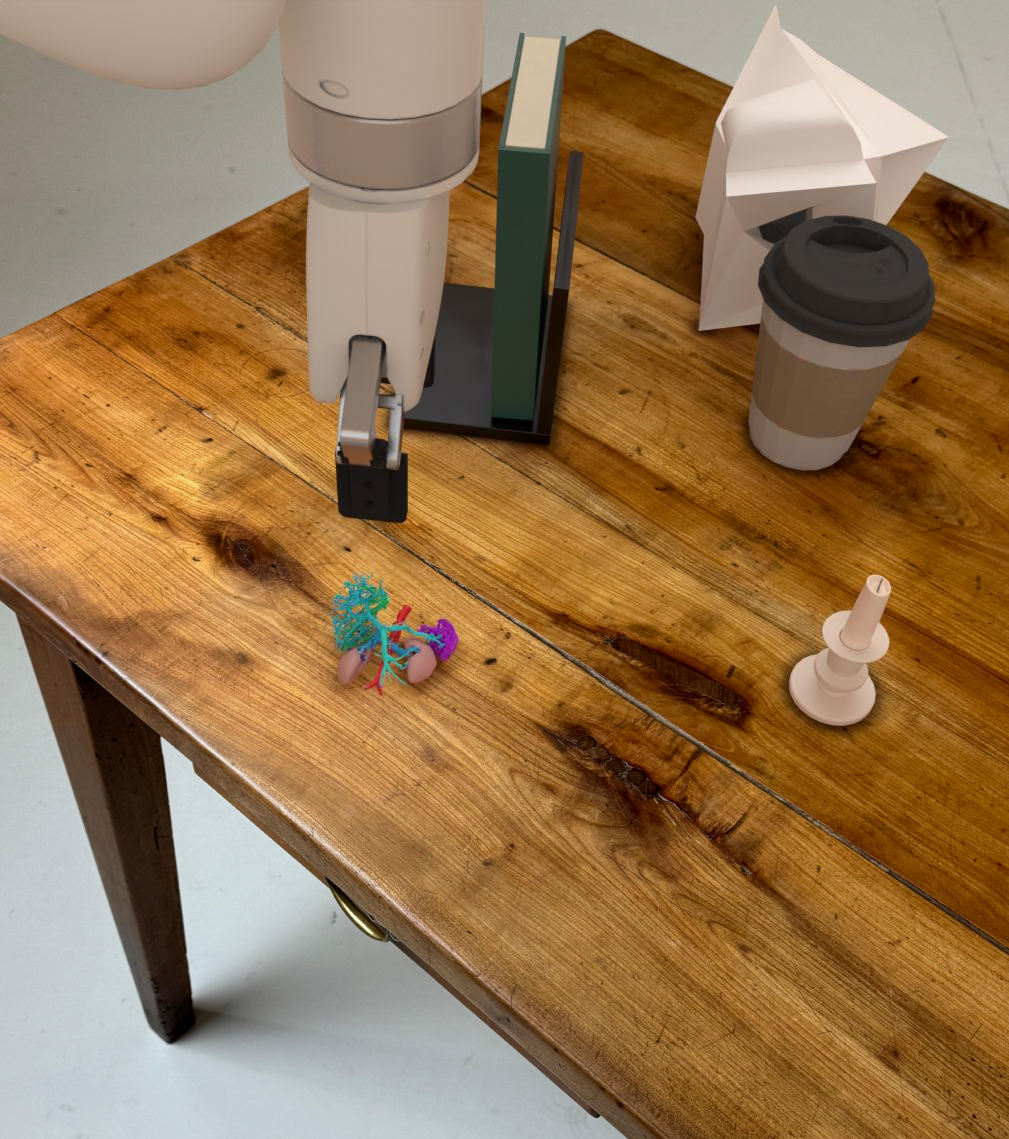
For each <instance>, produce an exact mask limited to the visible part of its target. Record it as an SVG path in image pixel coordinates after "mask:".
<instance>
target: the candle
mask: <svg viewBox="0 0 1009 1139" xmlns="http://www.w3.org/2000/svg"><path fill="white" fill-rule="evenodd" d="M891 593H892V586H891V583H890V582H889V580H888V579H887V578H885V577H884V576H883V575H881V574H872V575H871V574H870V575H869V576H868V577H867V579H866V581H865V583H864V585H863V587H862V589H861V591H860V592H859V594H858V597H857V599H856V601H855V602H854V604H853V607H852V609H851V610H841V611H840V610H839V611H837V612H834V613H833V614H831V615H830V616H828V617H827V618H826V619H825V621H824V622H823V625H822V630H821V635H822V639H823V641H824V643H825V645H826V646H827V647H826V648H824V649H822V650H821V651H820V652H818V653H817V654H811V655H809V656H806V657H804V658H802V659H801V660H800V661H798V662H797V663H796V664H795V665H794V666H793V668H792V671H791V673H790V675H789V678H788V679H789V680H788V688H789V690H788V691H789V695H790V696H791V699H792V700H793V702H794V704H795V705H796V706H797V708H799V710H800V711H801V712H802V713H804V714H805V715H807V716H808V717H809V718H811V719H813V720H815V721H817V722H819V723H822V724H826V725H830V726H841V727H843V726H844V727H845V726H850V725H854V724H857V723H858V722H861V721H863V720H864V719H865V718H866V717H867V716H868V715H869V714H870V712H871V710H872V709H873V706H874V704H875V702H876V695H877V693H876V688H875V685H874V682H873V680H872V678H871V677H870V675H869V667H868V664H869V663H870V664H871V663H874V662H876V661H879V660H880V659H882V658H883V657H884V656H885V655H886V654H887V652H888V651H889V650H888V649H889V646H890V637H889V634H888V632H887V630H886V628H885V627H884V626H883V625H882V623H880V621H881V618H882V616H883V615H884V611H885V609H886V606H887V603H888V601H889V598H890V595H891Z"/></svg>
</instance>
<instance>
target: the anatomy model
mask: <svg viewBox="0 0 1009 1139" xmlns="http://www.w3.org/2000/svg"><path fill="white" fill-rule="evenodd" d="M365 575H366V572H364V573H363V574H362V573H360V575H358V577H357V572H354V573H353V574H351V577H352V579H353V580H354V581H355V583H353V580H351V581H346V580H344V581H343V583H344V585H343V586H342V588H343V590H346V589H347V588H348V595H347V594H345V596H344V595H343V593H342V592H341V590H338V593H336V594H334V596H333V597H332V599H330V602H332V604H333V605H332V606H331V607H330V608H331V609H332V611H331V612H330V617H331V619H330V621H332V622H331V623H330V624H331V625H333V626H334V627H333V628H330V631H334V633H333V634H332V635H331V637H332V638H335V636H336V638H335V639H336V640H335V643H334V646H335V648H337V647H338V645H339V648H338V650H337V653H338V652H340V654H343V653H345V654H344V655H342V656H341V658H340V659H339V662H338V664H337V668H336V675H337V678H338V681H339V683H341V684H343V685H349V684H352V683H353V682H354V681H355V680H356V679H357V678H358V676H360V675H361V674H362V673H363V671H364V670H365V669H366V668H367V667H368V666H369V663H370V662H371V660H372V657H373V656H374V655H375V656H378V657H380V658H381V659H382V660H381V662H380V664H379V667H378V669H377V672H376V675H375V676H374V679H373V680H372V681H371V682H370V683H369V684H367V685H366V686H364V687H363V689H364V690H366V691H368V690H369V691H370V689H371V688H373V687H374V686H375V687H376V690H377V693H378V695H379V696H381V697H383V696H384V693H383V689H384V685H385V678H386V677H385V676H386V673H388V674H387V675H388V680H389V682H390V683H392V682H393V681H392V680H391V677H390V674H392V676H394V678H396V679H397V680H398V681H399V682H400V683H401V684H402V685H404V686H407V683H405V682H404V681H403V680H401V679H400V678H399V676H398V675H396V673H395V672H394V671H393V670H392V669H391V663H393V664H394V665H395V666H396V667H398V668H399V669H400V670H404V669H406V676H407V677H406V678H407V680H408V681H409V682H410V683H411V684H418V683H421V682H423V681H424V680H427V679H428V678H430V677H431V675H432V674H433V672H434V670H435V669H436V668H437V665H438V661H437V658H438V659H439V660H440V661H442V662H446V661H447V660H448V659H450V657H451V656H452V655H453V654H454V653H455V652H456V650H457V646H458V643H459V635H458V634H457V632H456V628H455V627H454V624H453V623H452V622H450V620H448V619H447V618H439V619H436V622H437V624H436V625H434V626H432V625H430V626H428V625H427V624H421V625H420V627H419V628H416V631H415V630H414V629H412V628H411V627H410V626H409V625H408V624H405V623H406V619H407V617H408V615H409V614H410V613H411V612H412V610H413V608H412V607H411V606H410V605H408V604H404V605H403V606H402V608H401V609H400V610H399V611H398V612H397V615H396V619H395V621H394V622H393V623H392V625H391V626H389V625H388V624H387V623H384V624H382V622H380V621H379V617H377V616H378V613H379V611H381V610H383V611H384V610H387V609H388V605H389V603H390V600H392V599H393V596H390V597H389V596H388V595H389V593H388V592H386V591H387V589H386V590H385V589H384V588H383V587H382V583H383V582H384V579H381V580H380V583H379V584H378V587H377V585H374V586H373V584H369V583H368V580H371V578H373V577H374V572H371V575H369V576H367V577H365ZM362 595H363V596H362ZM334 600H335V602H333V601H334ZM341 600H342V601H341ZM330 602H328V604H330ZM335 605H337V608H335ZM363 605H364V606H363ZM374 605H376V606H375V607H373V606H374ZM359 606H361V607H362V608H361V609H359V610H358V611H357V612H354V611H353V609H354V608H357V607H359ZM371 607H372V608H371ZM340 610H341V611H344V610H345V612H344V613H343V614H341V613H340V614H337V615H336V616H335V617H334V615H333V613H334V612H335V611H337V612H339V611H340ZM339 617H343V618H340V619H339ZM354 620H355V621H354ZM353 621H354V622H353ZM368 622H370V623H371V624H368ZM366 624H367V626H366ZM375 630H376V632H374V631H375ZM402 631H403V632H404V631H407V632H408V633H409V634H411V635H409V636H408V637H407V638H406V639H405V641H404V645H403V647H404V648H403V647H399V645H401V642H399V640H400V638H401V636H402V635H401V634H402ZM356 632H357V635H355V633H356ZM388 633H389V636H388ZM413 635H414V636H413ZM341 636H342V637H341ZM415 636H416V637H415ZM340 637H341V638H340ZM388 637H389V638H388ZM417 637H424V640H425V641H426V642H427V643H426V642H423V641H421V640H420V639H418V638H417ZM340 639H342V640H340ZM357 639H358V640H357ZM398 642H399V643H398ZM378 644H380V646H381V648H379V649H378V650H377V653H375V649H376V647H377V645H378ZM342 648H343V650H342ZM394 652H395V654H396V655H398V656H399V657H396V658H394V657H393V655H394ZM380 653H381V655H380ZM404 657H405V658H406V662H405V663H404V666H403V664H400V663H398V662H397V661H399V660H401V659H402V658H404ZM436 657H437V658H436Z"/></svg>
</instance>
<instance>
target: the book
mask: <svg viewBox="0 0 1009 1139" xmlns="http://www.w3.org/2000/svg"><path fill="white" fill-rule="evenodd" d="M560 37H561V38H549V37H537V36H536V37H534V36H525V33H524V32H519V35H518V40H517V45H516V51H515V57H514V62H513V67H512V73H511V79H510V83H509V89H508V93H507V94H508V95H507V101H506V106H505V111H504V116H503V122H502V127H501V133H500V138H499V143H498V148H497V149H498V150H497V181H496V182H497V184H496V185H497V186H496V217H495V218H496V221H495V252H494V253H495V257H494V287H493V288H494V324H493V361H492V397H491V417H498V418H510V419H521V420H534V413H535V405H536V397H537V389H538V381H539V373H540V364H541V356H542V348H543V340H544V332H545V324H546V315H547V307H548V299H549V295H550V282H551V270H552V268H551V267H552V255H553V254H552V252H553V239H554V238H553V237H554V226H555V224H554V223H555V209H556V195H557V178H558V163H559V148H560V134H561V118H562V106H563V105H562V104H563V91H564V90H563V89H564V77H565V76H564V75H565V73H564V72H565V62H566V45H567V44H566V43H567V36H566V35H561V36H560Z"/></svg>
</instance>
